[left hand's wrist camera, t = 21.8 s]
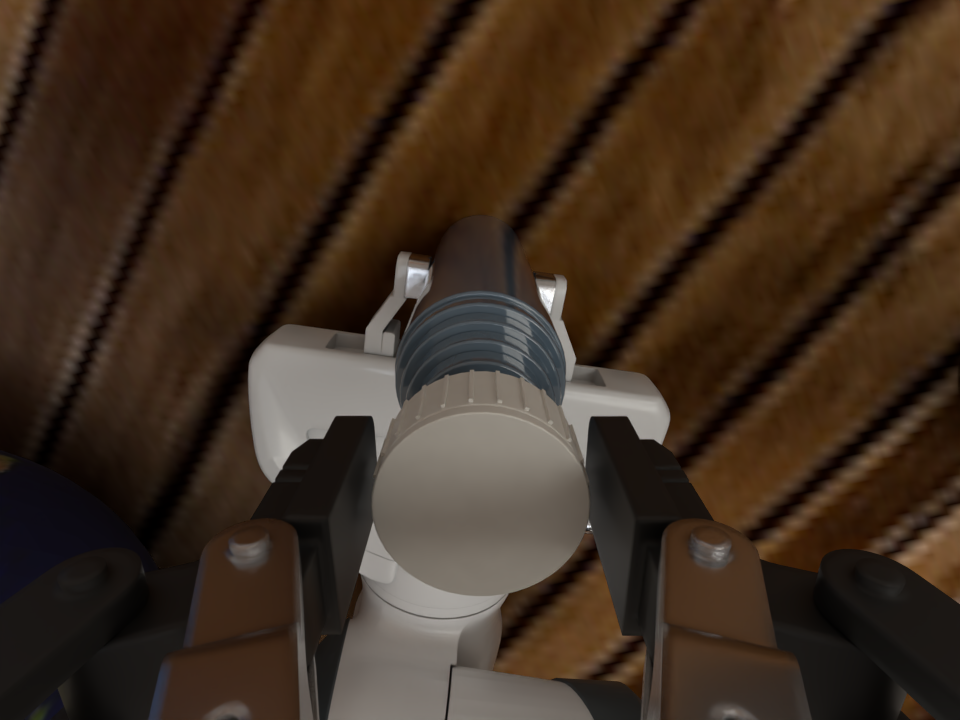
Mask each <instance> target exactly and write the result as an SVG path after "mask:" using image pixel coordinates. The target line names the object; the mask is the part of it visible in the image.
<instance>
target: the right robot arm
mask: <svg viewBox="0 0 960 720" xmlns="http://www.w3.org/2000/svg"><path fill="white" fill-rule="evenodd" d="M431 262H432V256H427V255H421V254H415V253H410V252H402V251H401V252H400V254H399V255H398V259H397V264H396V272H395V282H394V289H393V291H392V292H391V293H390V295H389V296H388V297H387V299H386V300H385V301H384V303H383V304H382V305H381V307H380V308H379V309H378V311H377V312H376V313H375V315H374V316H373V318H372V319H371V321H370V323H369V324H368V326H367V327H366V331H365V334H358V333H351V332H343V331H336V330H329V329H322V328H315V327H308V326H301V325H294V324H286V325H283V326H282V327H280V328H279V329H277V330H276V331H275V332H274V333H272V334H271V335H270V336H268V337H267V338H266V339H265V340H264V341H263V342H262V343H261V344H260V345H259V346H258V347H257V348H256V350H255V351H254V353H253V354H252V356H251V359H250V362H249V368H248V394H249V410H250V420H251V429H252V436H253V442H254V448H255V453H256V457H257V460H258V463H259V466H260V468H261V470H262V471H263V473H264V475H265V476H266V477H267V478H268V480H269V481H270V482H272V483H273V482H275V478H276V477H277V475H278V473H279V472H280V470H282V469H283V465H284V463H285V462H286V460H287V458H288V457H289V455H290V454H291V452H292V451H293V450H295V449H296V448H297V447H299V446H300V445H302V444H303V443H304V442H306V441H307V440H309V439H324V437H325V435H326V433H327V431H328V429H329V427H330V425H331V423H332V421H333V420H334V418H335V417H336V416H372V417H373V421H374V427H375V440H376V453H377V462H378V459H379V455H380V452H381V449H382V446H383V443H384V440H385V438H386V435H387V432H388V429H389V426H390V423H391V420H392V418H394V419H396V417H397V415H398V413H399V412H400V410H401V408H400V406H399V402H398V399H397V395H396V388H395V360H396V354H397V350H398V347H399V344H400V341H401V340H400V339H399V338H400V326H401V322H400V321H399V320H396V319H392V318H393V317H394V315H395V314H396V313H397V311H398V310H399V309H400V307H401V306H402V305H403V303H404V302H405V301H406V299H407V298H413V299H417V298H418V296H419V293H420V291H421V288H422V286H423V283H424V281H425V278H426V276H427V273H428V271H429V268H430V266H431ZM533 275H534V277H535V279H536V282H537V284H538V287H539V289H540V292H541V294H542V297H543V299H544V302H545V304H546V307H547V309H548V312H549V314H550V317H551V319H552V322H553V324H554V326H555V329H556V331H557V334H558V336H559V339H560V341H561V344H562V347H563V350H564V355H565V361H566V387H565V395H564V399H563V403H562V405H561V407H562V409H563V412H564V415H565V418H566V419H567V422H568V424H569V425H571V424H572V426H573V428H574V431H575V434H576V437H577V440H578V443H579V446H580V450H581V453H582V456H583V459H584V466H585V465H586V452H587V439H588V427H589V421H590V418H591V416H627V417H628V418H629V420H630V422H631V423H632V425H633V427H634V429H635V431H636V433H637V435H638V436H639V438H640V439H654V440H655V441H657V442H658V443H660V444H661V445H662V443H663V440H664V438H665V435H666V432H667V429H668V426H669V422H670V412H669V409H668V406H667V404H666V402H665V400H664V399H663V397H662V395H661V393H660V392H659V391H658V389H657V388H656V387H655V385H654V384H653V383H652V382H651V380H650V379H649V378H648V377H647V376H645V375H644V374H641V373H636V372H628V371H621V370H614V369H607V368H600V367H593V366H586V365H578V364H575V362H576V357H575V354H574V351H573V348H572V345H571V342H570V340H569V337H568V334H567V331H566V328H565V325H564V322H563V320H562V318H561V314H562V309H563V304H564V299H565V294H566V289H567V280H566V279H565V277H564V275H557V274H550V273H543V272H535V271H533ZM585 534H593V532H592V528H591V525H590V521H589V520H588V525H587V528H586V531H585ZM359 573H360V574H361V579H362V586H363V587H362V591H361V592H360V594H359V596H358V599H357V602H356V605H355V609H354V614H353V618H352V619H351V618H347V619H346V620H345V623H344V627H343V631H342V634H341V635H327V636H326V637H325V638H324V639H323V640H322V641H321V642H320V644H319V645H318V646H317V649H316V653H315V655H314V657H315V664H316V674H317V690H318V705H319V720H641V705H642V700H641V699H640V698H639V697H638V696H637V695H636V694H635V693H634V692H633V691H632V690H631V689H630V688H629V687H627V686H626V685H625V684H623V683H621V682H617V681H600V680H582V679H565V678H555V679H552V680H547V679H540V678H534V677H527V676H520V675H514V674H508V673H501V672H495V671H493V668H494V664H495V661H496V657H497V653H498V649H499V644H500V640H501V633H502V616H501V610H500V607H501V605H502V604H503V602H504V601H505V599H506V597H507V596H508V594H509V593H507V594H503V595H494V596H467V595H459V594H454V593H449V592H446V591H443V590H440V589H437V588H434V587H432V586H430V585H427V584H425V583H423V582H421V581H420V580H418V579H416V578H414V577H413V576H412V575H410V574H409V573H408V572H406V571H405V570H403V569H402V568H401V567H400V566H399V565H398V564H397V563H396V562H395V561H394V560H393V558H392V557H391V556H390V555H389V554H388V552H387V551H386V549H385V548H384V546H383V544H382V543H381V541H380V539H379V536H378V534H377V532H376V529H375V526H374V522H373V524H372V528H371V531H370V535H369V538H368V542H367V545H366V549H365V552H364V556H363V560H362V563H361V567H360V570H359Z"/></svg>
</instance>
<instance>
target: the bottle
mask: <svg viewBox="0 0 960 720" xmlns="http://www.w3.org/2000/svg"><path fill="white" fill-rule="evenodd" d="M470 370H474V371H488V372H495V371H500V373H502V374H507V375H511V376H514V377H517V378H519V379H520V377H522V378H524V380H525V381H526V382H528V383H530V384H532V385H534V386H535V387H537V388H538V389H540V390H542V389H544V390H545V391H546V395H547V396H549V397H550V398H551V399H552V400H553V401H554V402H555V404H556V405H557V406H559V405H562V403H563V399H564V395H565V387H566V361H565V355H564V350H563V347H562V344H561V341H560V339H559V336H558V334H557V331H556V329H555V326H554V324H553V322H552V319H551V317H550V314H549V312H548V309H547V307H546V304H545V302H544V299H543V297H542V294H541V292H540V289H539V287H538V284H537V282H536V279H535V277H534V275H533V272H532V270H531V267H530V265H529V262H528V260H527V257H526V255H525V252H524V250H523V247H522V245H521V242H520V240H519V238H518V236H517V235H516V233H515V232H514V231H513V230H512V228H511V227H510V226H508V225H507V224H506V223H504V222H503V221H501V220H499V219H497V218H494V217H491V216H487V215H473V216H469V217H466V218H463V219H461V220H459V221H457V222H456V223H454V224H453V225H452V226H451V227H450V228H449V229H448V230H447V231H446V232H445V234H444V235H443V237H442V239H441V241H440V243H439V246H438V248H437V251H436V253H435V256H434V258H433V261H432V263H431V266H430V268H429V271H428V273H427V276H426V278H425V281H424V283H423V286H422V288H421V291H420V293H419V296H418V298H417V301H416V303H415V306H414V308H413V311H412V314H411V316H410V319H409V321H408V324H407V326H406V329H405V331H404V334H403V336H402V339H401V341H400V344H399V347H398V350H397V354H396V360H395V388H396V395H397V399H398V402H399V406H400V408H401V409H402V407H403V404H404V401H405V400H408V401H409V400H410V399H411V398H412V397H413V396H414V395H415V394H416V393H418V392H419V391H420V390H421V389H422V386H424V385H426V386H428V385H430V384H431V383H433V382H435V381H437V380H440V379H442V378H444V377H445V375H448V374H449V376H451V375H455V374H459V373H465V372H470Z"/></svg>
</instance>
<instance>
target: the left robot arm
mask: <svg viewBox="0 0 960 720" xmlns="http://www.w3.org/2000/svg"><path fill="white" fill-rule="evenodd" d="M376 465H377V453H376V440H375V427H374V421H373V417H372V416H336V417H335V418H334V420H333V421H332V423H331V425H330V427H329V429H328V431H327V433H326V435H325V437H324V439H309V440H307V441H306V442H304V443H303V444H302V445H300V446H299V447H297V448H296V449H295V450H293V451H292V452H291V454H290V455H289V457H288V458H287V460H286V462H285V463H284V465H283V469H282V470H280V472H279V473H278V475H277V477H276V478H275V482H273V483H272V485H271V486H270V488H269V490H268V491H267V493H266V495H265V496H264V498H263V500H262V501H261V503H260V504H259V506H258V508H257V509H256V511H255V513H254V514H253V516H252V518H251V519H250V520H249V521H244V522H241V523H238V524H235V525H233V526H231V527H229V528H227V529H225V530H223V531H221V532H220V533H218V534H217V535H216V536H214V537H213V538H212V539H211V540H210V541H209V542H208V543H207V544H206V546H205V547H204V549H203V551H202V554H201V557H200V560H198V561H195V562H191V563H187V564H183V565H178V566H173V567H169V568H164V569H159V570H155V571H150V572H145V573H144V569H143V566H142V562H141V559H140V557H139V555H138V554H137V553H135V552H134V551H132V550H129V549H126V548H113V547H111V548H102V549H97V550H92V551H88V552H85V553H82V554H79V555H76V556H74V557H71V558H69V559H67V560H65V561H63V562H61V563H59V564H57V565H56V566H54V567H52V568H51V569H49V570H48V571H46V572H45V573H44V574H42V575H41V576H39V577H38V578H37V579H35V580H34V581H32V582H31V583H29V584H28V585H27V586H25V587H24V588H22V589H21V590H20V591H18V592H17V593H15V594H14V595H13V596H11V597H10V598H8V599H7V600H6V601H4V602H3V603H1V604H0V720H24V719H25V718H26V717H27V716H28V715H29V714H30V713H31V712H33V711H34V710H35V709H36V708H37V707H38V706H39V705H40V704H41V703H42V702H43V701H45V700H46V699H47V698H48V697H49V696H50V695H51V694H52V693H53V692H54V691H55V690H56V689H58V691H59V694H60V696H61V699H62V702H63V705H64V707H63V708H62V709H60V710H59V711H58V712H57V713H56V714H55V715H54V716H53V717H52V718H51V719H50V720H319V705H318V690H317V674H316V664H315V657H314V655H315V653H316V649H317V646H318V643H319V640H320V637H321V635H341V634H342V631H343V627H344V623H345V620H346V616H347V613H348V609H349V606H350V602H351V599H352V595H353V591H354V588H355V584H356V581H357V577H358V574H359V570H360V567H361V563H362V560H363V556H364V552H365V549H366V545H367V542H368V538H369V535H370V531H371V528H372V524H373V518H372V509H371V500H372V490H373V486H374V481H375V479H374V478H373V474H374V471H375V468H376ZM585 470H586V473H587V476H588V479H589V482H590V485H589V486H588V487H589V491H590V502H591V504H590V516H589V521H590V525H591V528H592V532H593V535H594V539H595V542H596V545H597V549H598V552H599V556H600V559H601V563H602V566H603V570H604V573H605V577H606V580H607V584H608V587H609V590H610V594H611V597H612V601H613V604H614V608H615V611H616V615H617V618H618V622H619V625H620V629H621V632H622V635H623V636H643V638H644V641H645V644H646V647H647V650H646V657H645V664H644V674H643V690H642V705H641V720H910V719H909V718H908V717H907V716H906V715H905V714H904V713H903V712H902V711H901V708H902V705H903V702H904V700H905V697H906V694H907V693H908V694H909V695H910V696H911V697H912V698H913V699H914V700H915V701H917V702H918V703H919V704H920V705H921V706H922V707H923V708H924V709H925V710H926V711H927V712H929V713H930V714H931V715H932V716H933V717H934V718H935V719H936V720H960V604H959V603H957V602H956V601H954V600H953V599H952V598H950V597H949V596H947V595H946V594H945V593H943V592H942V591H940V590H939V589H938V588H936V587H935V586H933V585H932V584H931V583H929V582H928V581H926V580H925V579H923V578H922V577H921V576H919V575H918V574H916V573H915V572H913V571H912V570H910V569H909V568H907V567H906V566H904V565H902V564H900V563H898V562H896V561H894V560H892V559H889V558H887V557H884V556H881V555H879V554H875V553H871V552H867V551H862V550H855V549H841V550H835V551H832V552H829V553H828V554H826V555H825V556H824V557H823V558H822V561H821V564H820V568H819V572H818V573H815V572H810V571H806V570H801V569H796V568H792V567H787V566H782V565H778V564H774V563H770V562H767V561H764V560H761V559H760V557H759V554H758V551H757V549H756V547H755V546H754V544H753V543H752V542H751V541H750V540H749V539H748V538H747V537H746V536H744V535H743V534H742V533H740V532H739V531H737V530H735V529H733V528H731V527H729V526H727V525H725V524H722V523H719V522H716V521H714V520H713V518H712V517H711V515H710V513H709V512H708V510H707V508H706V507H705V505H704V504H703V502H702V500H701V499H700V497H699V496H698V494H697V492H696V491H695V489H694V487H693V486H692V484H691V483H689V479H688V478H687V476H686V475H685V473H684V471H683V470H681V466H680V465H679V463H678V462H677V460H676V458H675V457H674V455H673V453H672V452H671V451H669V450H668V449H667V448H665V447H664V446H662V445H661V444H660V443H658V442H657V441H655V440H654V439H640V438H639V436H638V435H637V433H636V431H635V429H634V427H633V425H632V423H631V422H630V420H629V418H628V417H627V416H591V418H590V421H589V427H588V439H587V452H586V465H585Z"/></svg>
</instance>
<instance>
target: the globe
mask: <svg viewBox="0 0 960 720" xmlns="http://www.w3.org/2000/svg"><path fill="white" fill-rule="evenodd" d="M111 547H113V548H126V549H129V550H132V551H134V552H135V553H137V554H138V555H139V557H140V559H141V562H142V566H143V569H144V573H145V572H150V571H155V570H159V569H158V567H157V565H156V564H155V562H154V561H153V559H152V557H151V556H150V554H149V552H148V551H147V549H146V548H145V547H144V546H143V544H142V543H141V542H140V540H139V539H138V538H137V537H136V535H135V534H134V533H133V531H132V530H131V529H130V528H129V526H128V525H127V524H126V523H125V522H124V521H123V520H122V519H121V518H120V517H119V516H118V515H117V514H116V513H114V512H113V511H112V510H111V509H110V508H109V507H108V506H106V505H105V504H104V503H103V502H102V501H101V500H99V499H98V498H96V497H95V496H94V495H92V494H91V493H89V492H88V491H86V490H85V489H83V488H82V487H80V486H79V485H77V484H76V483H74V482H72V481H71V480H69V479H68V478H66V477H64V476H62V475H60V474H58V473H56V472H54V471H52V470H51V469H49V468H47V467H44V466H42V465H40V464H37V463H35V462H33V461H30V460H28V459H25V458H22V457H19V456H17V455H14V454H11V453H8V452H5V451H2V450H0V604H1V603H3V602H4V601H6V600H7V599H8V598H10V597H11V596H13V595H14V594H15V593H17V592H18V591H20V590H21V589H22V588H24V587H25V586H27V585H28V584H29V583H31V582H32V581H34V580H35V579H37V578H38V577H39V576H41V575H42V574H44V573H45V572H46V571H48V570H49V569H51V568H52V567H54V566H56V565H57V564H59V563H61V562H63V561H65V560H67V559H69V558H71V557H74V556H76V555H79V554H82V553H85V552H88V551H92V550H97V549H102V548H111ZM63 707H64V705H63V702H62V699H61V696H60V694H59V691H58V689H56V690H55V691H54V692H53V693H52V694H51V695H50V696H49V697H48V698H47V699H46V700H45V701H43V702H42V703H41V704H40V705H39V706H38V707H37V708H36V709H35V710H34V711H33V712H31V713H30V714H29V715H28V716H27V717H26V718H25V719H24V720H50V719H51V718H52V717H53V716H54V715H55V714H56V713H57V712H58V711H59V710H60V709H62V708H63Z"/></svg>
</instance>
